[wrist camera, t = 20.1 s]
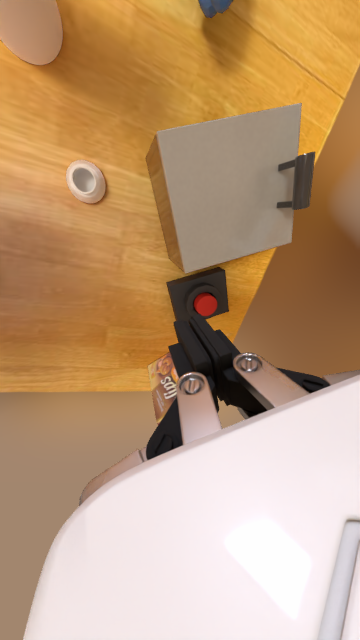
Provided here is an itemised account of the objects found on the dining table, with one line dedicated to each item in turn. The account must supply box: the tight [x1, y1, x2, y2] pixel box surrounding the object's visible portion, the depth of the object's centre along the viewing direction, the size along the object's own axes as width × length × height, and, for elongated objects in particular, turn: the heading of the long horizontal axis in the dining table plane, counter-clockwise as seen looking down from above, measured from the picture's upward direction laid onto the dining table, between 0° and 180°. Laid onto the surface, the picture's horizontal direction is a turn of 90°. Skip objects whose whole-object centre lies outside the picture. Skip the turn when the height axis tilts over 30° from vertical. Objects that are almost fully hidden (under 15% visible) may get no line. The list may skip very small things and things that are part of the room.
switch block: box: [166, 267, 229, 324], centre depth 39 cm, size 11×9×4 cm
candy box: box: [148, 352, 179, 425], centre depth 40 cm, size 9×4×15 cm, turn 120°
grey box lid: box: [156, 103, 315, 273], centre depth 23 cm, size 17×15×5 cm
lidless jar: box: [66, 160, 106, 203], centre depth 27 cm, size 5×3×5 cm
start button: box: [194, 293, 217, 316], centre depth 37 cm, size 4×4×2 cm
